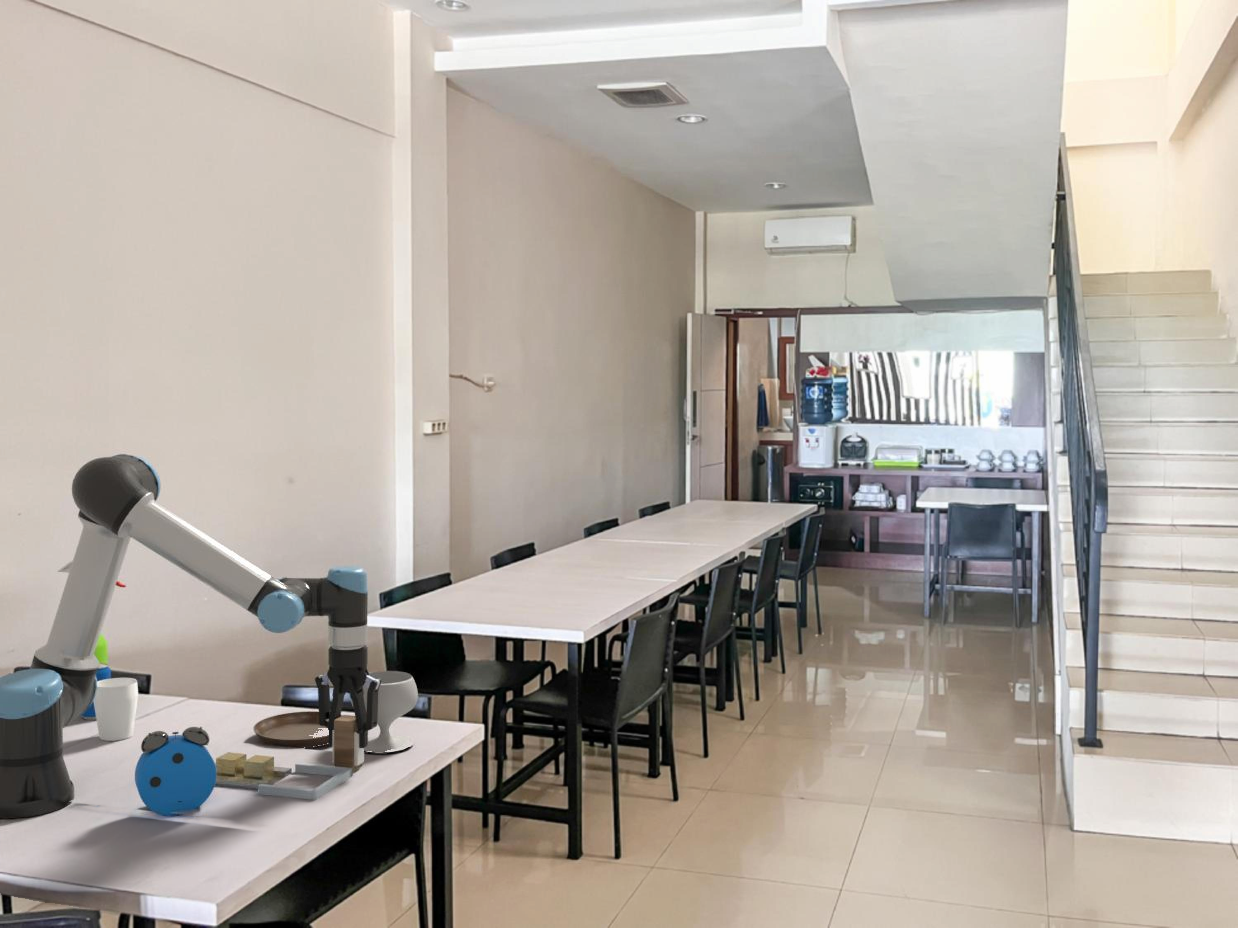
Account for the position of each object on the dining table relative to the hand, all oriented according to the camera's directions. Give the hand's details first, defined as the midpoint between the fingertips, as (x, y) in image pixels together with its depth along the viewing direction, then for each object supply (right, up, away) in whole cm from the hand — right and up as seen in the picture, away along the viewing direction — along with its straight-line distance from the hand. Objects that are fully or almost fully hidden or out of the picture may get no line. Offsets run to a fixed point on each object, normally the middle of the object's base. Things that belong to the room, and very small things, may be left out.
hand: (348, 762), depth 225 cm
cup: (-56, -1, +23) cm, 61 cm away
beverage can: (-68, 0, +38) cm, 78 cm away
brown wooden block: (0, -2, 0) cm, 2 cm away
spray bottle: (-80, +2, +60) cm, 100 cm away
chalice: (+4, -2, +18) cm, 18 cm away
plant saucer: (-16, -1, +24) cm, 28 cm away
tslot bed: (-19, -2, -6) cm, 20 cm away
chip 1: (-21, -1, -6) cm, 22 cm away
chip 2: (-15, -1, -7) cm, 17 cm away
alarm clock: (-25, -3, -22) cm, 34 cm away
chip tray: (-6, -3, -10) cm, 12 cm away
